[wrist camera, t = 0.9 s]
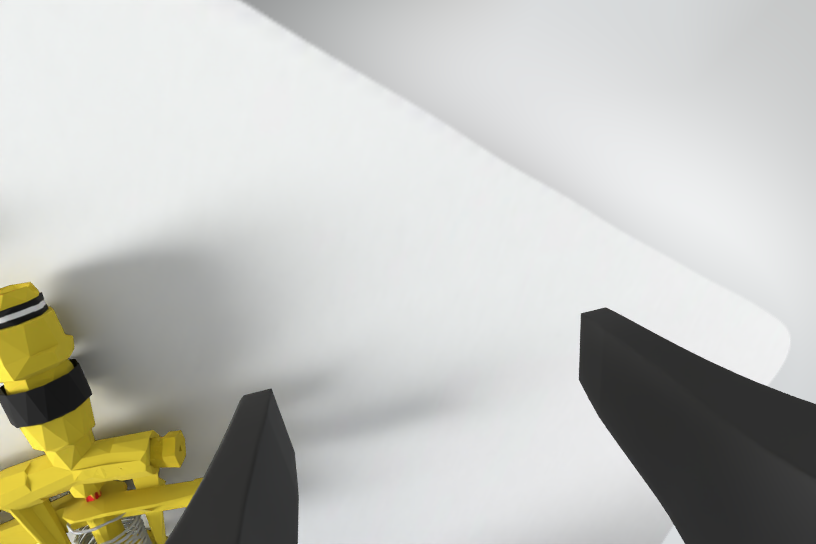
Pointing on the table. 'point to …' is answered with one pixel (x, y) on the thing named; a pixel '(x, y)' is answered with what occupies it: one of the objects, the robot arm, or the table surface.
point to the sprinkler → (73, 443)
